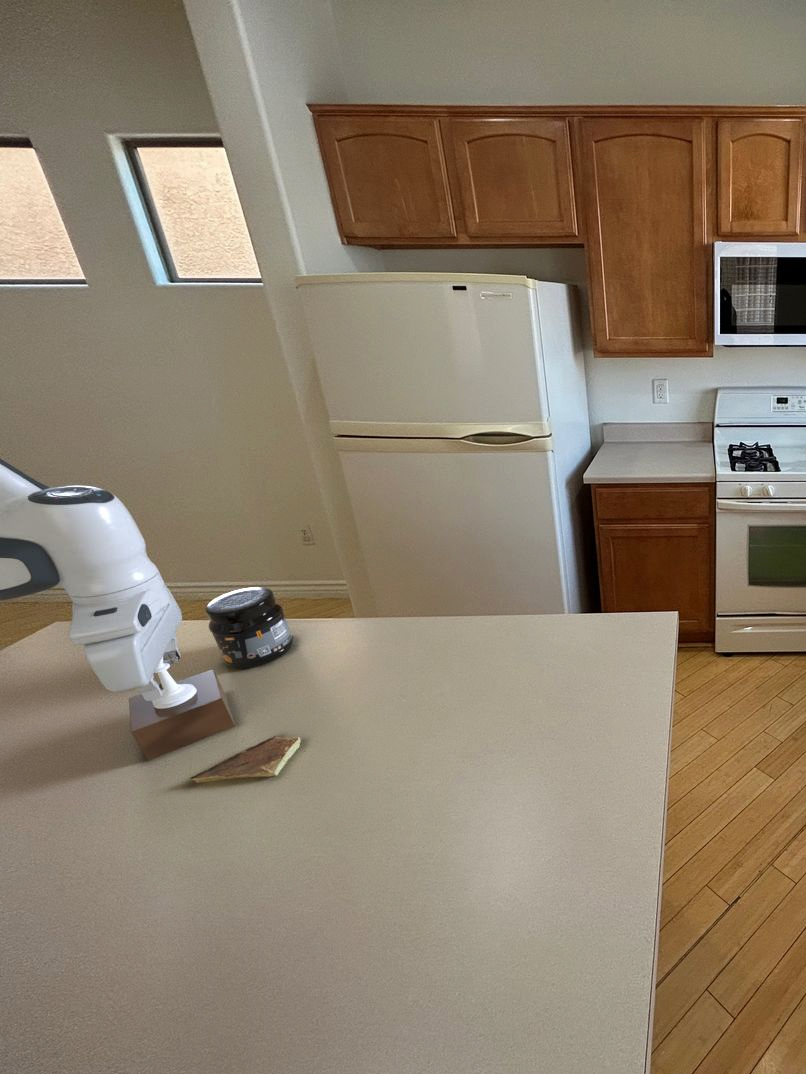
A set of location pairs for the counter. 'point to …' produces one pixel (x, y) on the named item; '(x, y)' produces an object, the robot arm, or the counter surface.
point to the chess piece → (171, 689)
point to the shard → (253, 761)
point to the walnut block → (181, 717)
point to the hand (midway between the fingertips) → (165, 678)
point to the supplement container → (249, 627)
